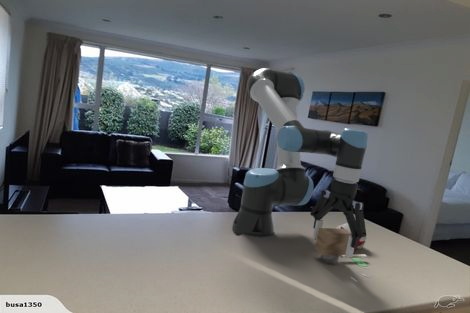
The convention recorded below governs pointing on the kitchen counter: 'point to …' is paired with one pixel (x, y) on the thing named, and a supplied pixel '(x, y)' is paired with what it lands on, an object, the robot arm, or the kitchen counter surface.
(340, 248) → the knob
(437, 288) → the kitchen counter surface
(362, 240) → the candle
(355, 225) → the robot arm
